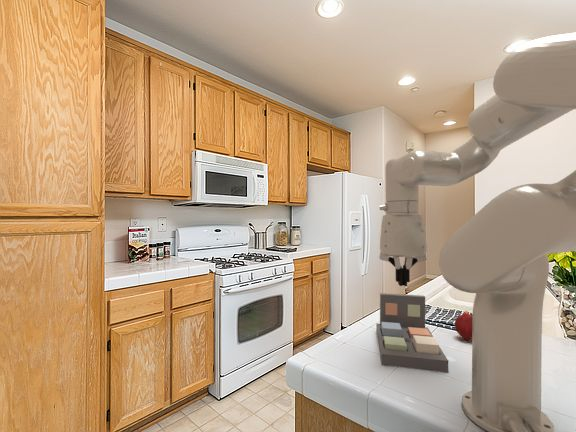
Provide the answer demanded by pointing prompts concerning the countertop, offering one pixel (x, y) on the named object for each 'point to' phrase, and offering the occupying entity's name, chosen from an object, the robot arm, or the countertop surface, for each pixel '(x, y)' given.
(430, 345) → the cream key
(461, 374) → the countertop surface
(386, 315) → the keypad
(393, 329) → the slate key
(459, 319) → the red spiky ovoid
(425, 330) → the terracotta key
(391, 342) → the sage key
